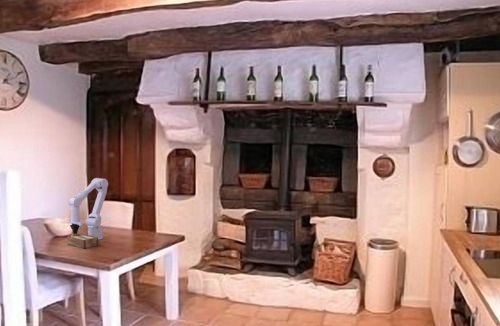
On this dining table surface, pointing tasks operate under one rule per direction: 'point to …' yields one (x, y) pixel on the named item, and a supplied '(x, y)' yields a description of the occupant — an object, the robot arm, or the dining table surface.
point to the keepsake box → (83, 242)
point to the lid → (80, 236)
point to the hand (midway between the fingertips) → (75, 234)
